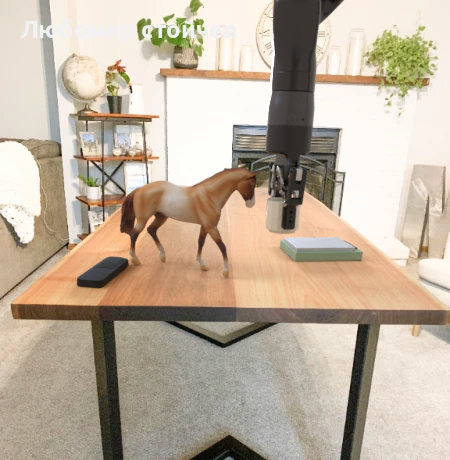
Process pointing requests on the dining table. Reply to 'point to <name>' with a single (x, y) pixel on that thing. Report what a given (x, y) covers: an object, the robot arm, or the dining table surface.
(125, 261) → the remote control
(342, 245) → the scale
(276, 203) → the white ceramic cup
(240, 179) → the horse figurine
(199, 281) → the dining table surface
